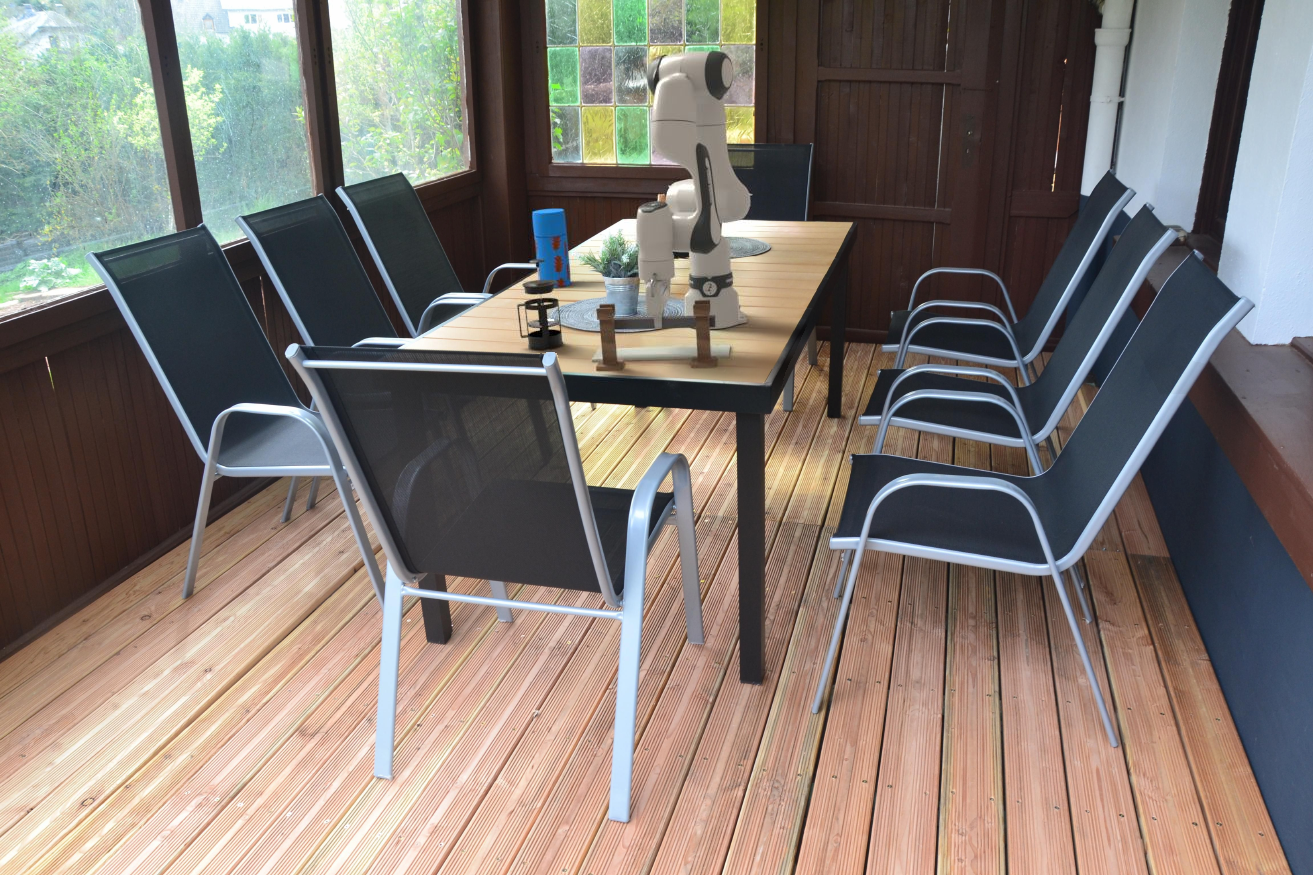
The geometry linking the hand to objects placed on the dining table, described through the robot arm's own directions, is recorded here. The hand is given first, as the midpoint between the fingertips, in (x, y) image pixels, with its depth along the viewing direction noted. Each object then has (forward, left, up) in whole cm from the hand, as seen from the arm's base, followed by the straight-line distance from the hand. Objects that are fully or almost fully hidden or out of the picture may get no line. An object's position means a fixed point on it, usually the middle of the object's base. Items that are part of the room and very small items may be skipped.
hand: (659, 326), depth 253 cm
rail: (0, 0, 0) cm, 0 cm away
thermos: (-93, -47, -8) cm, 105 cm away
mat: (0, 0, -7) cm, 7 cm away
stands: (+10, 0, -7) cm, 12 cm away
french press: (-12, -33, -8) cm, 36 cm away
